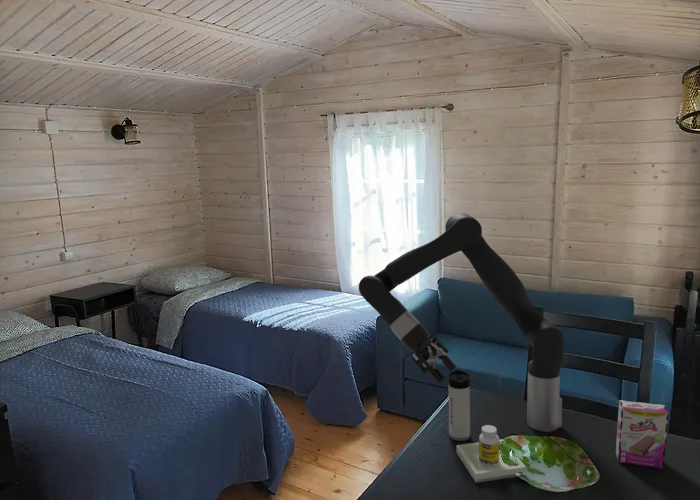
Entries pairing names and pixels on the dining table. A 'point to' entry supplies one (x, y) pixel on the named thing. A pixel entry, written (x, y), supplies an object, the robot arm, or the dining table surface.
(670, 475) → the dining table surface
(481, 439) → the supplement bottle
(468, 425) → the travel mug
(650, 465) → the candy bar box
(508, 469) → the tray
